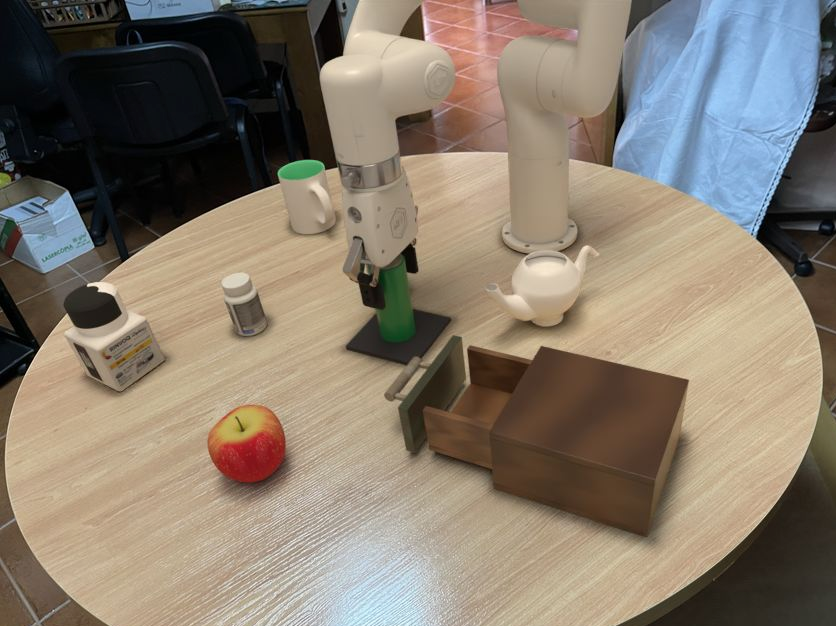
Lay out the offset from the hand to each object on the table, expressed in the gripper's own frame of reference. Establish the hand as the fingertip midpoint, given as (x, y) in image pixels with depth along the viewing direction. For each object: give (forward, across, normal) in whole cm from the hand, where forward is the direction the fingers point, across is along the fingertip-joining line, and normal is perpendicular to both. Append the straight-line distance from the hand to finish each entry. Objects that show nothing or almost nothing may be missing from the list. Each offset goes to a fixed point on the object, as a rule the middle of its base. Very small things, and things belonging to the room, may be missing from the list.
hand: (391, 288), depth 93 cm
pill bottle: (+8, -6, +22) cm, 24 cm away
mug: (+8, +23, +30) cm, 39 cm away
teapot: (+8, +11, -18) cm, 23 cm away
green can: (+7, 0, 0) cm, 7 cm away
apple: (+8, -28, +3) cm, 29 cm away
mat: (+8, 0, 0) cm, 8 cm away
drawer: (+7, -13, -18) cm, 23 cm away
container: (+8, -20, +33) cm, 39 cm away
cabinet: (+8, -13, -32) cm, 35 cm away
